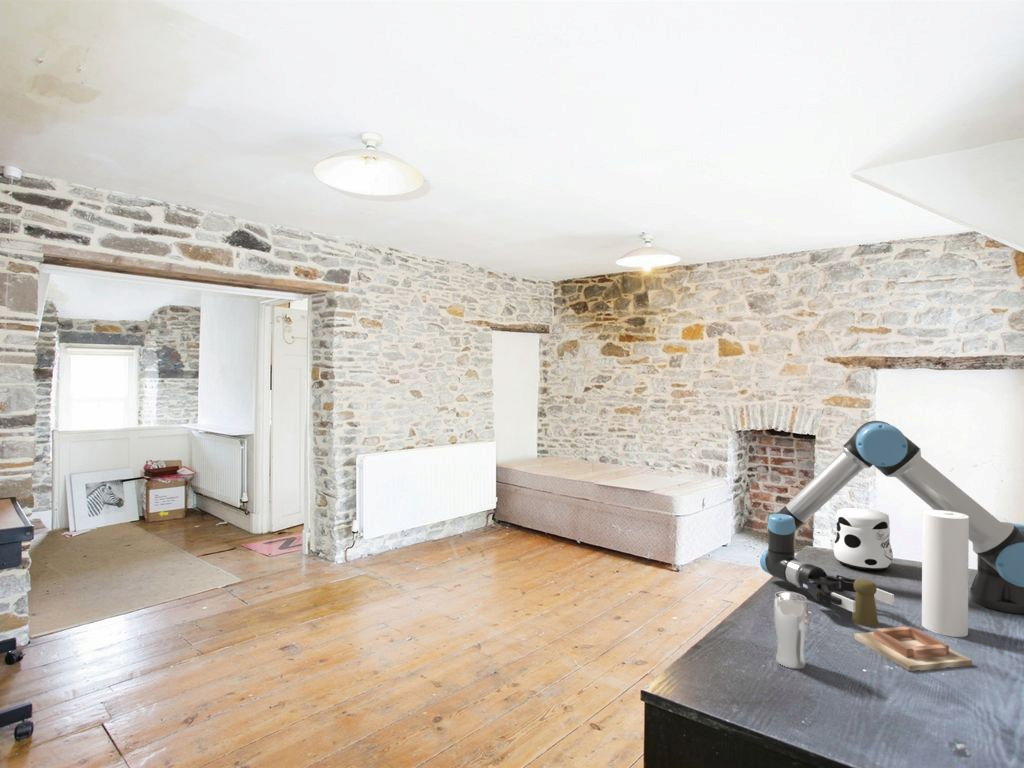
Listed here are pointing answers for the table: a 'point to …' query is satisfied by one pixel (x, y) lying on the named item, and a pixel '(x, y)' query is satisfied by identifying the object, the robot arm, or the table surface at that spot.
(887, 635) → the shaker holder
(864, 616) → the cork
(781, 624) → the beer glass
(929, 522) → the cylinder container
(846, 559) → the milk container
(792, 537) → the robot arm
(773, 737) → the table surface
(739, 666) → the table surface
